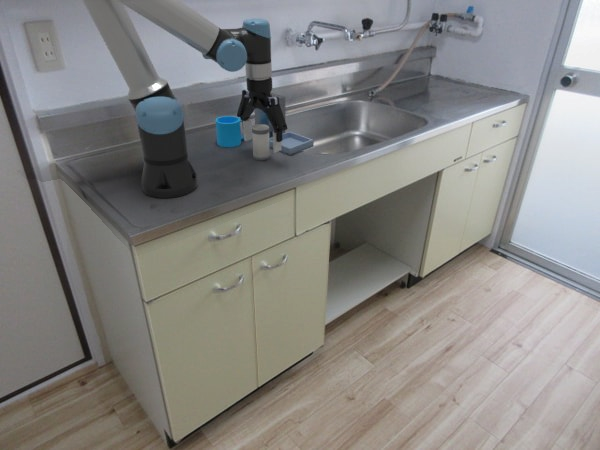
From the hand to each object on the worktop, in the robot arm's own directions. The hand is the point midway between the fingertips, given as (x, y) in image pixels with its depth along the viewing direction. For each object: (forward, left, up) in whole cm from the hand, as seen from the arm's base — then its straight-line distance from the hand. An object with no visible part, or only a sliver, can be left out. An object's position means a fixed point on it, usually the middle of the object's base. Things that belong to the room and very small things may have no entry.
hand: (262, 145), depth 145 cm
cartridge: (0, 0, -4) cm, 4 cm away
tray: (+13, 0, -4) cm, 13 cm away
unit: (+15, +12, -4) cm, 19 cm away
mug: (+2, +17, -4) cm, 17 cm away
